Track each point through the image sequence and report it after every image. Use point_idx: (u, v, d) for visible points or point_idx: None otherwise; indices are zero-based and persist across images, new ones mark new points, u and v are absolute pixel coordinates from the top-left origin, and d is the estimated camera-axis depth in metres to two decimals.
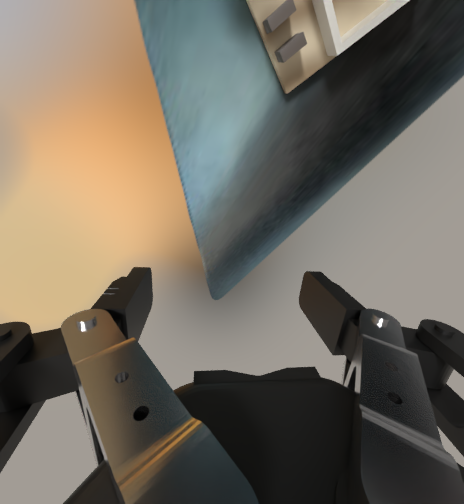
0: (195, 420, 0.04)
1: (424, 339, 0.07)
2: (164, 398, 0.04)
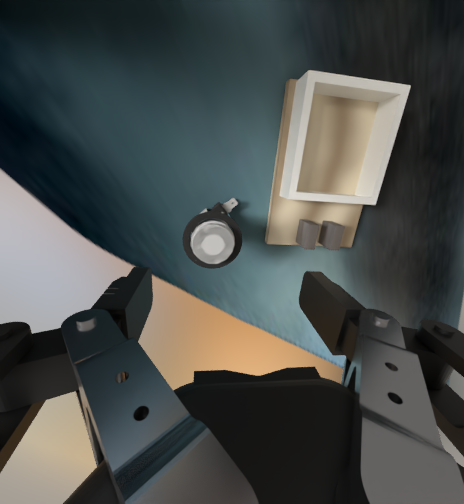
0: (195, 420, 0.04)
1: (424, 339, 0.07)
2: (164, 398, 0.04)
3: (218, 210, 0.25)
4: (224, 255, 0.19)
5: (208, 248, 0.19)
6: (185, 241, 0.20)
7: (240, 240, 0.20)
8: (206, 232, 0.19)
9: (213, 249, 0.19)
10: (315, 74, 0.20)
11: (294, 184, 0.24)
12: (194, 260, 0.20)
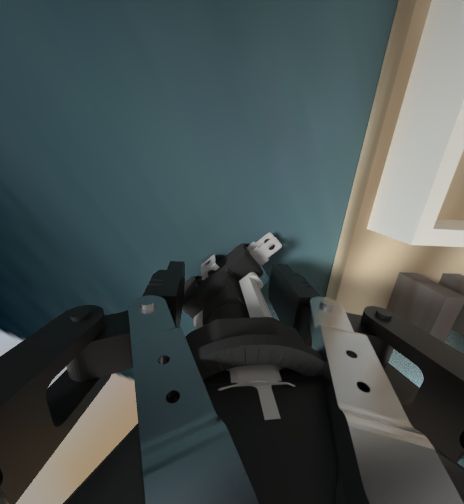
0: (195, 420, 0.04)
1: (370, 326, 0.08)
2: (195, 388, 0.04)
3: (243, 267, 0.11)
4: None
5: None
6: None
7: None
8: None
9: None
10: None
11: (432, 211, 0.10)
12: None
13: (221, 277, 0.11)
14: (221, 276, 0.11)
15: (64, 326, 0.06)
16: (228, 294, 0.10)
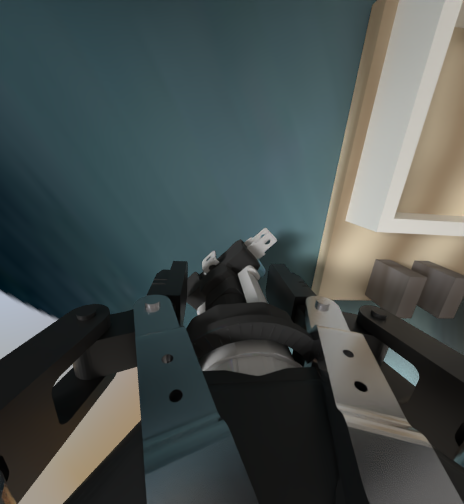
0: (195, 420, 0.04)
1: (365, 326, 0.08)
2: (198, 389, 0.04)
3: (241, 261, 0.12)
4: None
5: None
6: None
7: None
8: None
9: None
10: None
11: (392, 203, 0.12)
12: None
13: (221, 271, 0.11)
14: (221, 270, 0.12)
15: (70, 325, 0.06)
16: (228, 285, 0.11)
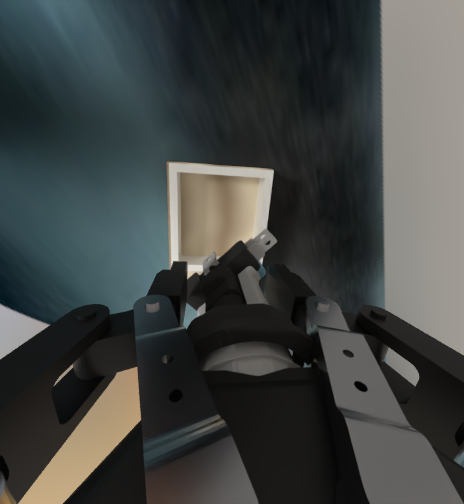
0: (195, 420, 0.04)
1: (365, 326, 0.08)
2: (198, 388, 0.04)
3: (241, 261, 0.12)
4: None
5: None
6: None
7: None
8: None
9: None
10: (176, 166, 0.22)
11: (175, 258, 0.25)
12: None
13: (221, 271, 0.11)
14: (221, 270, 0.12)
15: (70, 325, 0.06)
16: (228, 286, 0.11)
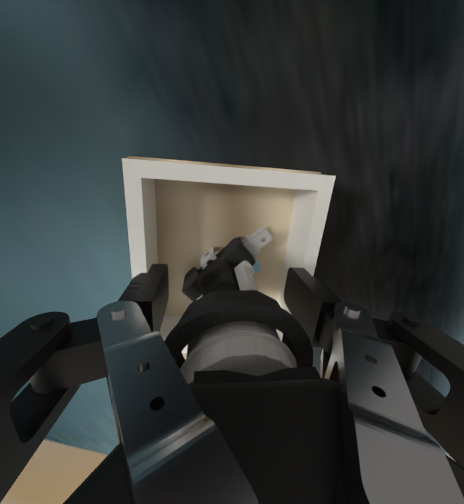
0: (195, 420, 0.04)
1: (395, 331, 0.08)
2: (179, 393, 0.04)
3: (237, 256, 0.13)
4: None
5: None
6: None
7: (308, 363, 0.08)
8: None
9: None
10: (138, 165, 0.10)
11: None
12: None
13: (218, 265, 0.12)
14: (218, 264, 0.12)
15: (24, 336, 0.06)
16: (224, 278, 0.11)
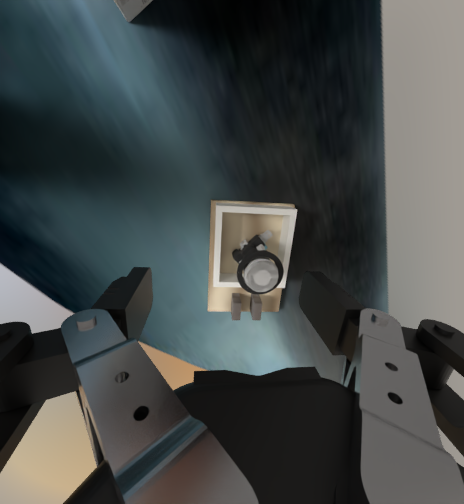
0: (195, 420, 0.04)
1: (424, 339, 0.07)
2: (164, 398, 0.04)
3: (257, 242, 0.31)
4: (270, 285, 0.25)
5: (258, 280, 0.24)
6: (239, 275, 0.25)
7: (282, 272, 0.25)
8: (257, 268, 0.24)
9: (262, 281, 0.24)
10: (221, 207, 0.28)
11: (216, 277, 0.31)
12: (245, 289, 0.26)
13: (250, 245, 0.30)
14: (250, 245, 0.30)
15: None
16: (253, 250, 0.29)
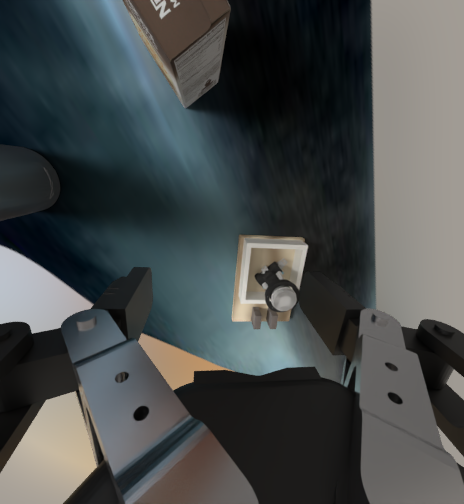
0: (195, 420, 0.04)
1: (424, 339, 0.07)
2: (164, 398, 0.04)
3: (276, 269, 0.39)
4: (290, 306, 0.33)
5: (282, 303, 0.33)
6: (267, 298, 0.33)
7: (298, 295, 0.34)
8: (281, 294, 0.32)
9: (284, 303, 0.33)
10: (251, 244, 0.37)
11: (243, 296, 0.40)
12: (271, 308, 0.34)
13: (271, 272, 0.38)
14: (271, 272, 0.38)
15: None
16: (274, 276, 0.37)
